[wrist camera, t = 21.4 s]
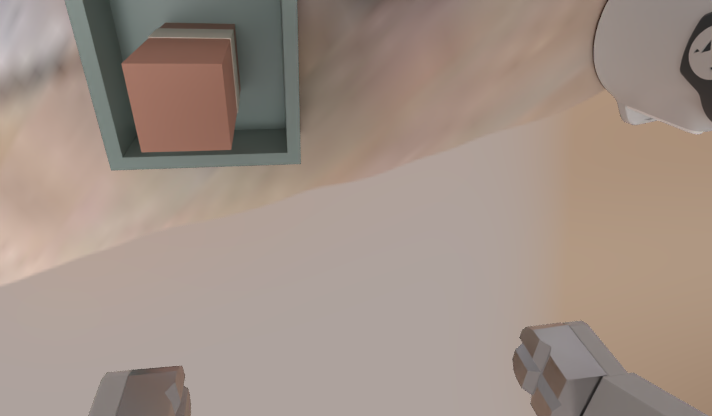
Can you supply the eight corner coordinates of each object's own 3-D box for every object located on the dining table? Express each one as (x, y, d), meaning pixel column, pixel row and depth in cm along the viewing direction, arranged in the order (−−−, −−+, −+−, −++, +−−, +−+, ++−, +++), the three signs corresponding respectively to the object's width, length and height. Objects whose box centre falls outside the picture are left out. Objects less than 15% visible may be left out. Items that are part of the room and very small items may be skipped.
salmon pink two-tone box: (235, 23, 34) (222, 63, 24) (241, 89, 36) (232, 150, 26) (164, 21, 33) (120, 62, 23) (175, 89, 35) (140, 153, 25)
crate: (291, -42, 33) (296, -37, 28) (296, 134, 40) (300, 163, 35) (86, -51, 30) (51, -47, 25) (131, 138, 38) (111, 170, 33)
